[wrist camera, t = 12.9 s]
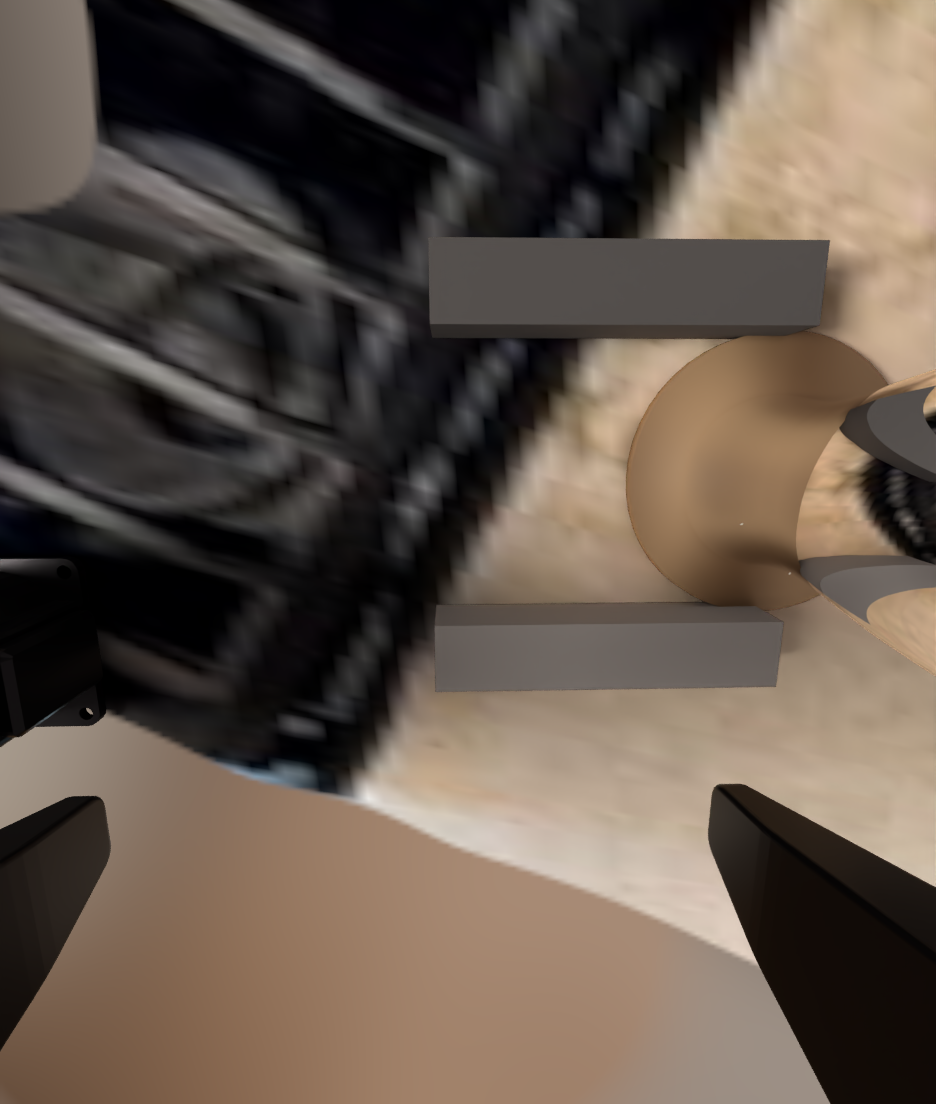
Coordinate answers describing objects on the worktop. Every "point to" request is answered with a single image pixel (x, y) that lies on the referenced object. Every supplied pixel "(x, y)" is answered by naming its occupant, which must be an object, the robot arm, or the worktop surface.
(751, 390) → the coaster
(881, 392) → the silver metal cup
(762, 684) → the grey square beam
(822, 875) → the robot arm
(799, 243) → the long grey square rod
